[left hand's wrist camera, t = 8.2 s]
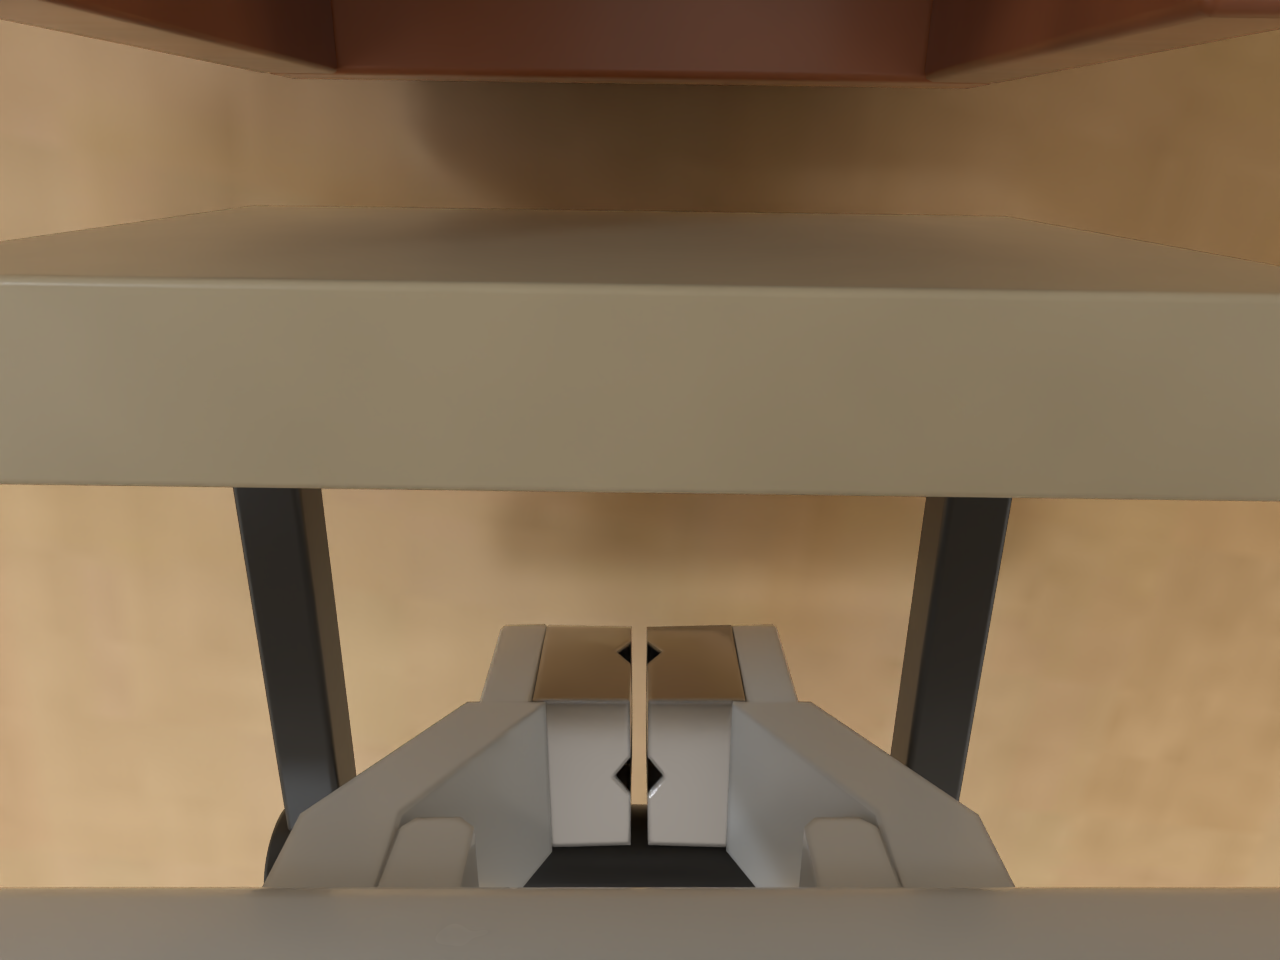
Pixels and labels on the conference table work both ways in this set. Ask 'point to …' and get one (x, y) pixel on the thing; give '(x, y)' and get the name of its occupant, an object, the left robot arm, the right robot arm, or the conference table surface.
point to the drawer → (637, 336)
